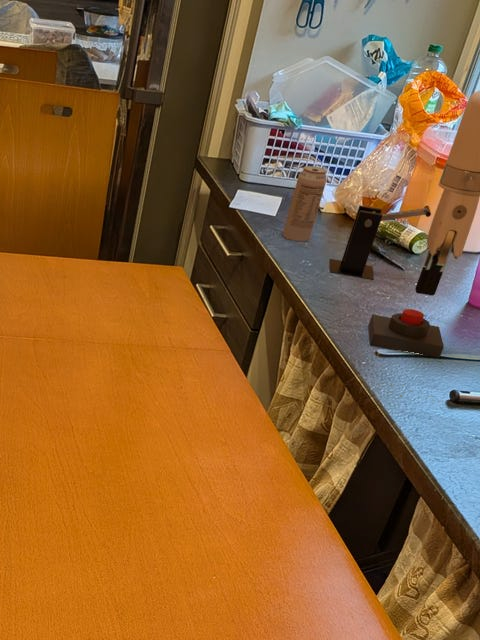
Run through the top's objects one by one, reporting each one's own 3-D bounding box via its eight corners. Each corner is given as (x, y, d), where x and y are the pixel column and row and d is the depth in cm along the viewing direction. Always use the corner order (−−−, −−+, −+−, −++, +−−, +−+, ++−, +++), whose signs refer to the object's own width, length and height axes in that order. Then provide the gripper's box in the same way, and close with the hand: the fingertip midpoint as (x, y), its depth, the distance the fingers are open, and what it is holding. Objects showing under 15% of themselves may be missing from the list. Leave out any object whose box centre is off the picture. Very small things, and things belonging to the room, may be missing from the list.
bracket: (370, 271, 197) (392, 208, 189) (372, 285, 191) (394, 220, 182) (328, 264, 199) (347, 200, 190) (327, 277, 192) (348, 212, 184)
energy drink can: (307, 239, 211) (328, 168, 201) (308, 247, 207) (329, 174, 197) (281, 235, 212) (300, 163, 202) (281, 243, 207) (301, 170, 198)
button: (419, 320, 167) (423, 311, 166) (421, 327, 164) (425, 318, 163) (399, 317, 167) (402, 307, 166) (400, 324, 165) (404, 314, 163)
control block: (434, 338, 171) (443, 316, 168) (439, 358, 163) (448, 336, 161) (368, 325, 173) (375, 304, 170) (369, 345, 165) (377, 323, 162)
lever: (428, 213, 186) (429, 201, 185) (430, 220, 183) (431, 207, 181) (360, 223, 191) (360, 211, 189) (360, 230, 187) (360, 217, 186)
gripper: (496, 194, 144) (450, 311, 156) (484, 172, 155) (442, 283, 167) (446, 186, 145) (404, 303, 157) (437, 165, 156) (399, 276, 168)
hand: (424, 292), depth 162 cm, fingers closed
